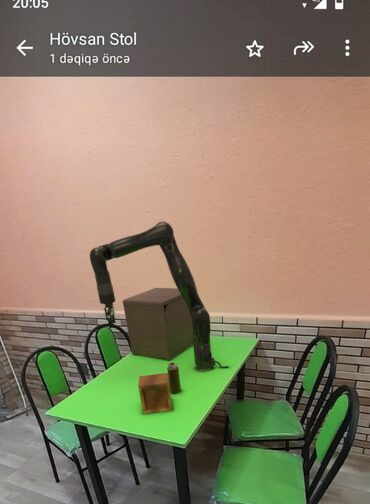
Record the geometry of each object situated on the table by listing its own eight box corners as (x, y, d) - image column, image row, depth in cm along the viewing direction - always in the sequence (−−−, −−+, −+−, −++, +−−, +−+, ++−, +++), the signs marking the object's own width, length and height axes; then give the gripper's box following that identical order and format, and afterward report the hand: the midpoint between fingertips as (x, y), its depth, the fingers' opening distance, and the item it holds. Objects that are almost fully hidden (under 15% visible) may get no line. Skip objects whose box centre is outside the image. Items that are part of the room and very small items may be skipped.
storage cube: (169, 361, 199) (162, 302, 182) (132, 354, 214) (122, 299, 196) (198, 341, 224) (194, 288, 206) (162, 337, 238) (156, 287, 220)
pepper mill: (180, 388, 168) (177, 359, 160) (181, 393, 163) (178, 364, 155) (169, 389, 168) (166, 360, 160) (170, 394, 163) (166, 365, 155)
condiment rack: (171, 399, 158) (167, 372, 151) (172, 410, 150) (168, 382, 143) (143, 402, 158) (139, 376, 151) (143, 413, 150) (138, 385, 142)
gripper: (111, 294, 156) (118, 328, 164) (115, 288, 168) (121, 320, 177) (95, 296, 156) (103, 330, 164) (100, 290, 168) (106, 322, 176)
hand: (112, 325), depth 170 cm, fingers open, 8 cm apart
